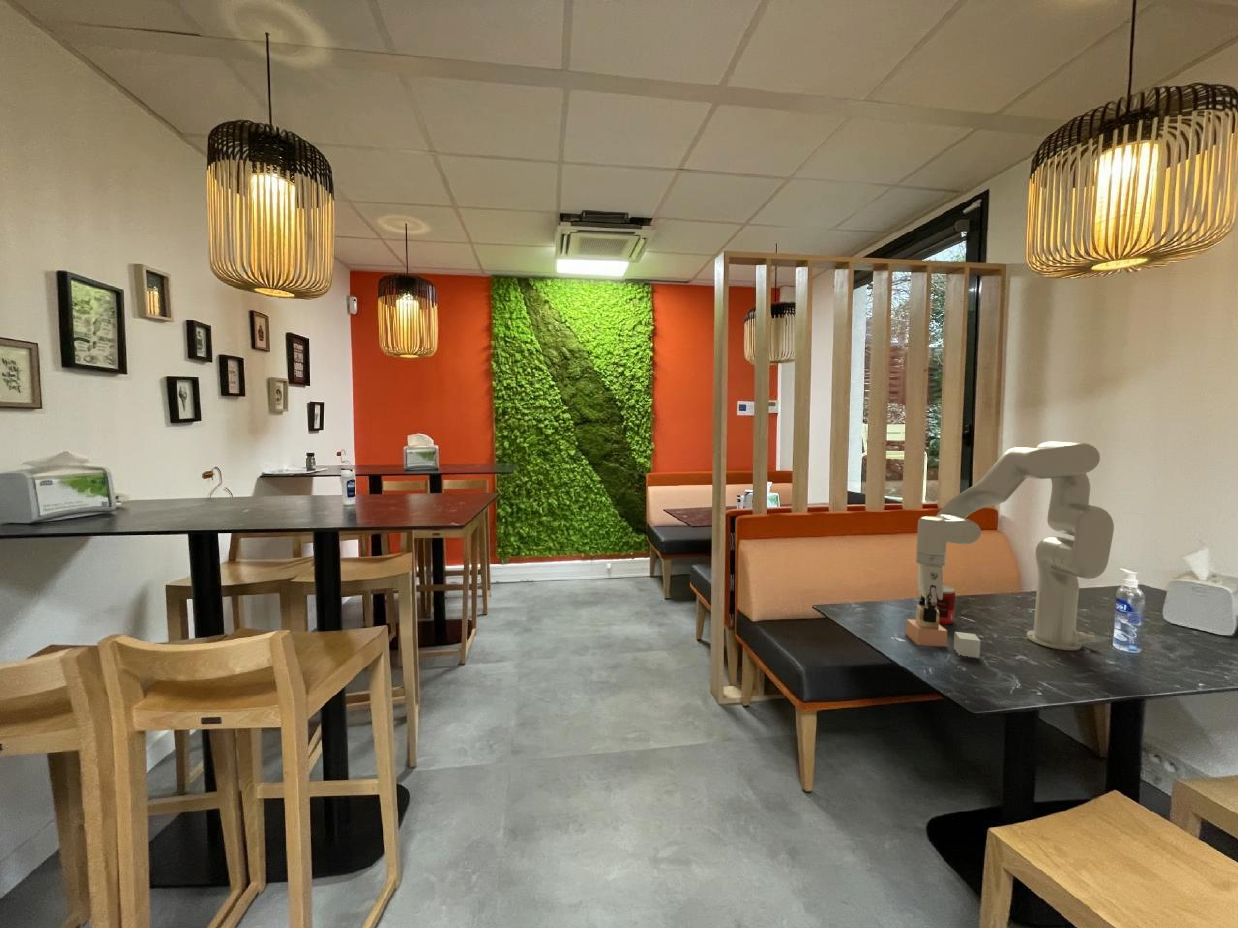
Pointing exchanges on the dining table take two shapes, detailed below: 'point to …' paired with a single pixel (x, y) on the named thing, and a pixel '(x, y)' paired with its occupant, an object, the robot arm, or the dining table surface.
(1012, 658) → the dining table surface
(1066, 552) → the robot arm
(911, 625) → the terracotta block
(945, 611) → the canned food
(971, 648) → the pale green-grey cube
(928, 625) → the maple cube
